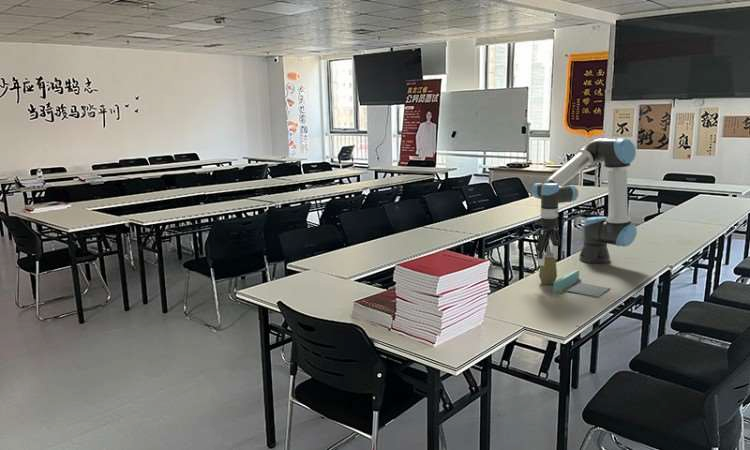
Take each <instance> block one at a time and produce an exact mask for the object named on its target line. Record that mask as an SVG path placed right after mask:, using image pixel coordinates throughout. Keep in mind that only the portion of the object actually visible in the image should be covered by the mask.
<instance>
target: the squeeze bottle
mask: <svg viewBox="0 0 750 450" xmlns="http://www.w3.org/2000/svg"><path fill="white" fill-rule="evenodd" d="M545 249H546V251H545V258H544V266H541V265H539V273H538V277H539V280H540V283H541V284H543V285H548V286H550V285H553V282H555V281H557V277H558V270H557V260H556V259H555V258H554V254H553V253H551V250H552V248H551V246H550V245H546V248H545Z"/></svg>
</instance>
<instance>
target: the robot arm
mask: <svg viewBox="0 0 750 450" xmlns="http://www.w3.org/2000/svg"><path fill="white" fill-rule="evenodd" d="M636 153H637V151H636V146H635V143H634V142H633V141H631V140H630V139H628V138H621V137H614V138H613V137H610V138H608V137H600V138H599V137H598V138H596V139H594V140H592V141H590V142H588V143H586V144H585V145H583V146H581V148H580V149H578V150H577V151H576V153H575V155H574V156H573V157H572V158H570V159H569V160H568V161H567V162H566V163H564V164H563V165H562V166H561V167H560V168H558V169H557V170H556V171H555V172H554V173H552V174H551V175H550V176H549V177H548V178H547V179H545V180H544V181H543V182H535V183H534V184H533V186H532V187H531V190H530V191H531V192H530V193H531V195H532V196H533V198H534V199H535V198H536V199H538V200H539V199H540V222H539V223H540V226H541V227H543V228H542V229H539V231H538V232H539V233H538V235H539V236H538V239H537V243H536V248H535V251H536V252H537V253H538V254H537V255H538V256H537V266H540V265H541V266H544V258H545V253H546V251H545V249H546V247H547V243H548V240H550V241H551V243H552V245H551V253H553V254H554V258H555V259H556V261H557V260H558V255H559V253H558V251H559V250H558V248H559V247H560V246H561V238H560V233H559V228H558V227H559V226H558V221H559V219H558V216H559V204H565V203H571V202H574V201H576V200H577V199H578V198H579V190H578V188H577V187H576V186H575V185H571V184H570V185H566V184H567V183H568V182H569V181H571V180H572V179H573V178H574V177H575V176H577V175H578V174H579V173H580V172H581V171H582V170H584V169H585V168H586V167H589V166H592V164H594V163H598V162H603V163H604V164H603V165H604V168H605V169H606V170H607V184H608V185H607V187H608V189H607V191H608V192H607V193H608V195H607V196H608V216H591V217H587V218H585V219H584V222H583V244H582V248H581V251H580V253H579V260H580V261H581V262H584V263H589V264H607V263H609V262H610V261H611V255H610V251H609V249H608V245H613V246H616V247H623V248H624V247H629V246H630V245H631V244H633V242H634V241H635V239H636V236H637V232H638V231H637V227H636V226H635V225H634V224H632V219H631V218H630V216H629V215H628V213H629V212H628V168H629V167H630V166H631V163H632V162H634V160H635V157H636V155H637V154H636Z"/></svg>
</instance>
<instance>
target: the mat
mask: <svg viewBox="0 0 750 450" xmlns="http://www.w3.org/2000/svg"><path fill="white" fill-rule="evenodd" d="M610 290H611V288H610V287H606V286H601V285H596V284H595V285H594V284H587V283H583V282H577V283H575V285H573V286H571V287H570V288H568V289H567V290H566V291H565V292H567V293H571V294H576V295H580V296H587V297H592V298H597V299H598V298H600V297H601V296H602V295H605V293H607V292H608V291H610Z"/></svg>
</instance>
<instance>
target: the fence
mask: <svg viewBox="0 0 750 450" xmlns="http://www.w3.org/2000/svg"><path fill="white" fill-rule="evenodd" d="M581 282H582V278H580V270H579V269H574V270H573V271H571V272H569V273H568V274H566V275H564V276H562V277H561V278H559V279H556V280H555V282H553V284H552V285H553V287H552V289H551V290H550V293H553V294H559V295H560V294H562V293H563V291H564V290H565V289H567V288H569V287H570V286H572V285H574V284H576V283H581Z"/></svg>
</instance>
